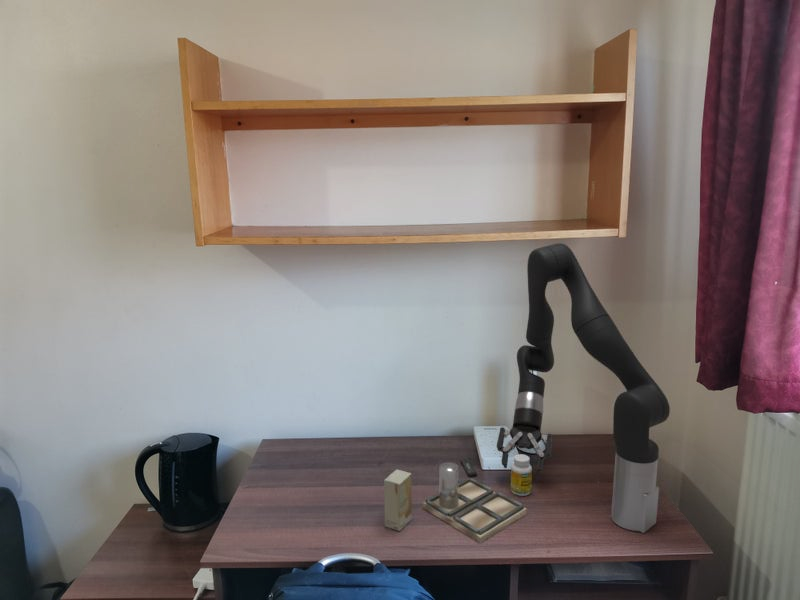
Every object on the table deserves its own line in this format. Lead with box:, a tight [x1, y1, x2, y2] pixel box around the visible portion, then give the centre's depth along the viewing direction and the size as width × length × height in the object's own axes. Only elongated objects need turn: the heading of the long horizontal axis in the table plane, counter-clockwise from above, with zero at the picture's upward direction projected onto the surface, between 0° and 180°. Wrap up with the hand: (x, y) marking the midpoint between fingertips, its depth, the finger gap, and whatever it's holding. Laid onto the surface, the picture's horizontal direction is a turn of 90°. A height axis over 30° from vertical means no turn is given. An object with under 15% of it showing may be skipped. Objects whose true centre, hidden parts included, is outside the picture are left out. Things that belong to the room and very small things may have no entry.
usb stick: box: [460, 457, 478, 478], centre depth 167 cm, size 10×3×2 cm, turn 8°
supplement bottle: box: [510, 453, 533, 497], centre depth 154 cm, size 5×5×10 cm
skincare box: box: [383, 468, 413, 532], centre depth 141 cm, size 6×4×12 cm
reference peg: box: [438, 462, 460, 509], centre depth 146 cm, size 5×5×10 cm
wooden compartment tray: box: [422, 477, 527, 544], centre depth 146 cm, size 19×17×2 cm
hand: (521, 469), depth 154 cm, fingers open, 8 cm apart
